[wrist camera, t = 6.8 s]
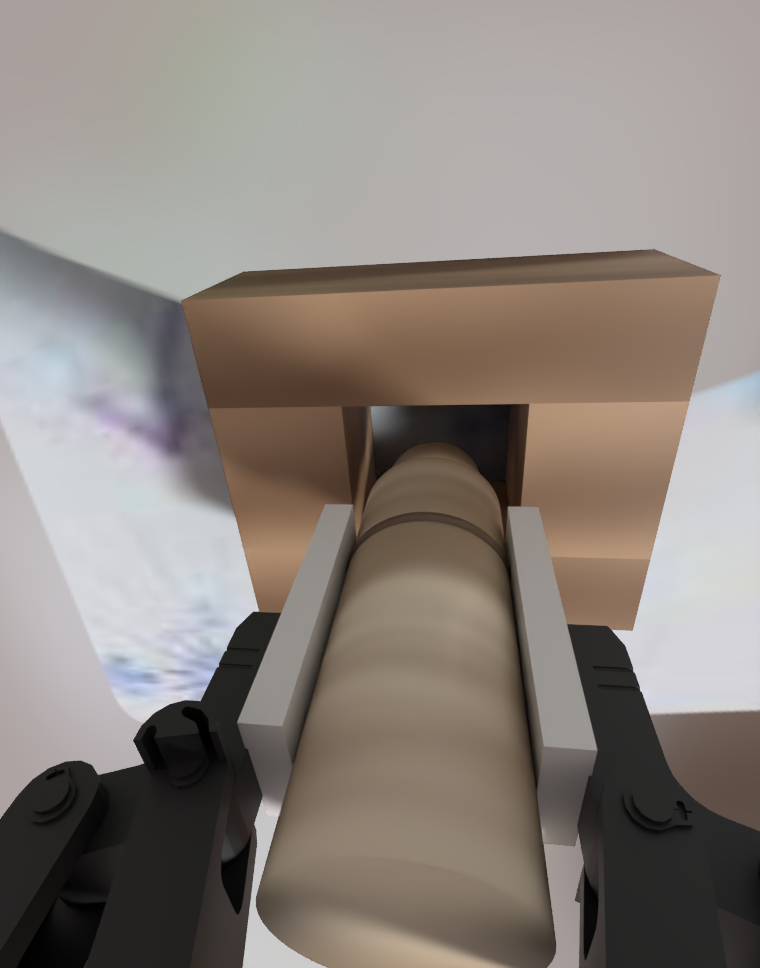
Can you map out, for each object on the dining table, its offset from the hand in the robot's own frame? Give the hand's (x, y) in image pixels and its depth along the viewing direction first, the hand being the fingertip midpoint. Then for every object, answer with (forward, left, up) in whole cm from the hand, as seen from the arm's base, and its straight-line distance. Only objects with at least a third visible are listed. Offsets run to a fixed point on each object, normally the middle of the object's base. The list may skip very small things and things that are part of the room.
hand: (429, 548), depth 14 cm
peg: (0, 0, -4) cm, 4 cm away
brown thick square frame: (0, 0, -8) cm, 8 cm away
